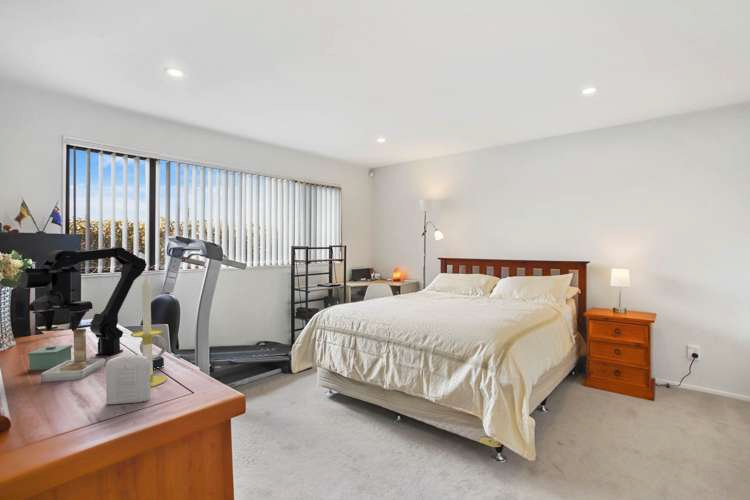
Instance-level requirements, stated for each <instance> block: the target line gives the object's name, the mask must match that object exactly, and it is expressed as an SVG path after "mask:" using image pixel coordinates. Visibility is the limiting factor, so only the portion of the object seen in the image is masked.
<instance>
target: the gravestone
mask: <svg viewBox="0 0 750 500" xmlns="http://www.w3.org/2000/svg"><path fill="white" fill-rule="evenodd" d="M105 373H106V374H105V378H106V380H105V381H106V383H105V384H106V386H105V387H106V388H105V389H106V390H105V391H106V392H105V393H106V394H105V395H106V404H107V405H118V404H131V403H142V402H143V401H144V402H147V400H148V401H149V400H150V399H151V387H150V359H149V357H146V356H143V355H142V354H141V355H140V354H125V355H120V356H117V357H113V358H111V359H109V360H108V361H107V363H106V368H105Z"/></svg>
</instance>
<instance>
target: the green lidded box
mask: <svg viewBox="0 0 750 500" xmlns="http://www.w3.org/2000/svg"><path fill="white" fill-rule="evenodd" d="M72 348H73V344H68V345H67V344H66V345H64V344H63V345H50V346H49V345H48V346H47V345H46V346H42V347H40V348H38V349H37V348H36V349H35V350H33V351H30V352H27V356H28V358H29V370H30V371H36V370H37V371H39V370H49V369H51V368H54V367H56V366H58V365H60V364H62V363H64V362H66V361H68V360H72Z"/></svg>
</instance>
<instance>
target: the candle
mask: <svg viewBox="0 0 750 500" xmlns="http://www.w3.org/2000/svg"><path fill="white" fill-rule="evenodd" d="M141 289H142V290H141V294H142V295H141V297H142V299H141V300H142V302H141V303H142V330H138V331H134V332H132V333H130V337H132V338H142V340H143V354H142V356H146V357H149V359H150V388H152V387H151V386H155V385H158V384H161V383H163V382H164V381H165V380H166V379H167V380H168V378H167V377H166V376H164V375H154V370H153V358H152V356H153V337H152V336H154V335H161V334H162V333H164V329H160V328H157V329H156V328H155V329H154V328H152V310H151V309H152V304H151V303H152V302H151V298H152V297H151V283H150V282H149V280H148V277H145V279H144V282H143V283H142V285H141ZM164 383H165V382H164ZM164 383H163V384H164ZM161 385H162V384H161ZM158 386H159V385H158ZM155 387H156V386H155Z"/></svg>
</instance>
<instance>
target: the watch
mask: <svg viewBox="0 0 750 500" xmlns="http://www.w3.org/2000/svg"><path fill="white" fill-rule="evenodd" d="M152 338H154V340H155V342H156V343H157V344H158V346H160V347H161V350H160V352H159V353H157V354H155V355H152V358H153V369H154V368H157V367H162V366H165V363H164V362H165V360H164V358H165V357H163V355H164V354H165V352H166V350H167V346H168V343H167V341H166V340H165V339H164V337H162V335H161V334H158V335H154V336H152ZM139 351H140V353H141V355H143V339H142V340H141V342H140V344H139ZM162 368H163V367H162ZM154 370H155V369H154Z"/></svg>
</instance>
